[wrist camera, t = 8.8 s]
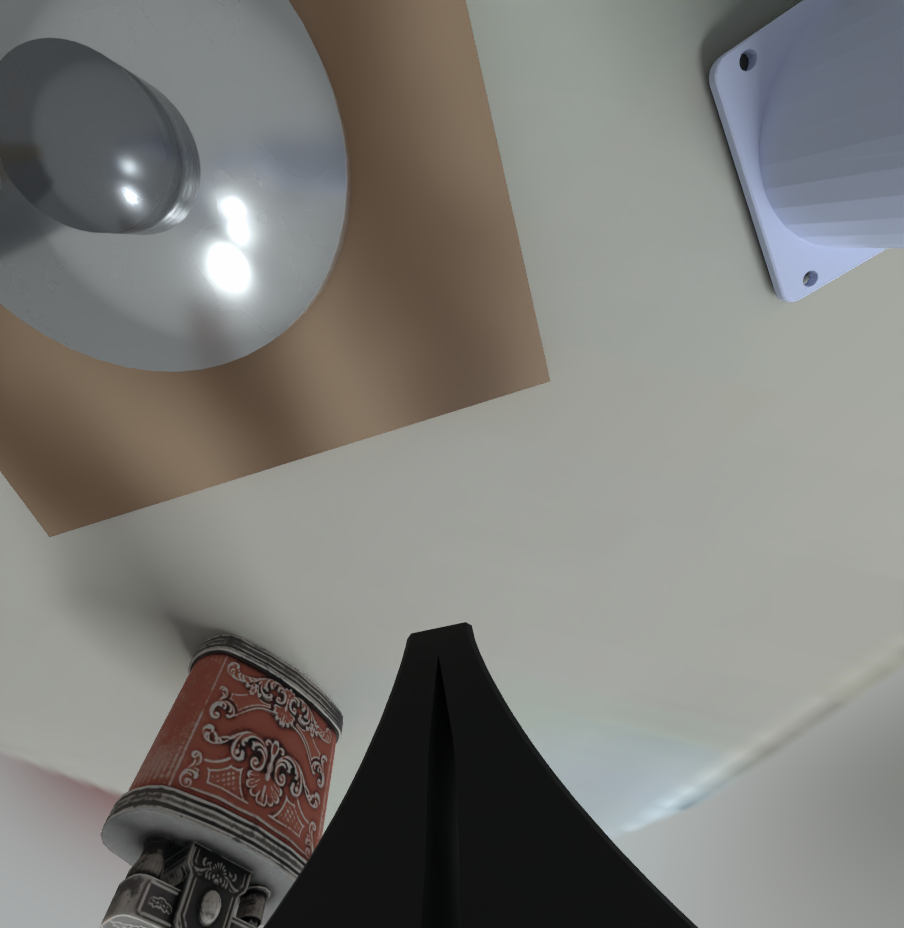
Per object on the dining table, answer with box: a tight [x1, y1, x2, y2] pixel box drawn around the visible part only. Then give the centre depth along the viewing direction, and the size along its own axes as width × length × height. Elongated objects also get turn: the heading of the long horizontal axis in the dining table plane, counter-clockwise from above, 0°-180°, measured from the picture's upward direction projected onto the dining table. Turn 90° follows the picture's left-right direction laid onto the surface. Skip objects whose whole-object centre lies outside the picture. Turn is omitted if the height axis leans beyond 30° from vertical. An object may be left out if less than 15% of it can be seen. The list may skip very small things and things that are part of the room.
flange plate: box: [0, 0, 351, 372], centre depth 12 cm, size 11×14×4 cm
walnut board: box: [0, 0, 550, 537], centre depth 12 cm, size 19×19×6 cm
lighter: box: [100, 634, 343, 928], centre depth 19 cm, size 8×3×10 cm, turn 39°
